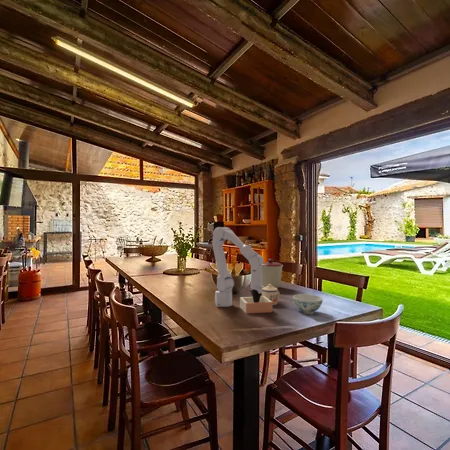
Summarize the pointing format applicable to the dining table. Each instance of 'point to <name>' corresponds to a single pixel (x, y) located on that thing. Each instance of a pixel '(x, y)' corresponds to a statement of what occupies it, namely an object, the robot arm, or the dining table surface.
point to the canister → (271, 273)
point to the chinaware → (307, 303)
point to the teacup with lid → (271, 293)
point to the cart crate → (251, 301)
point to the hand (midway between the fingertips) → (256, 304)
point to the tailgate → (259, 307)
